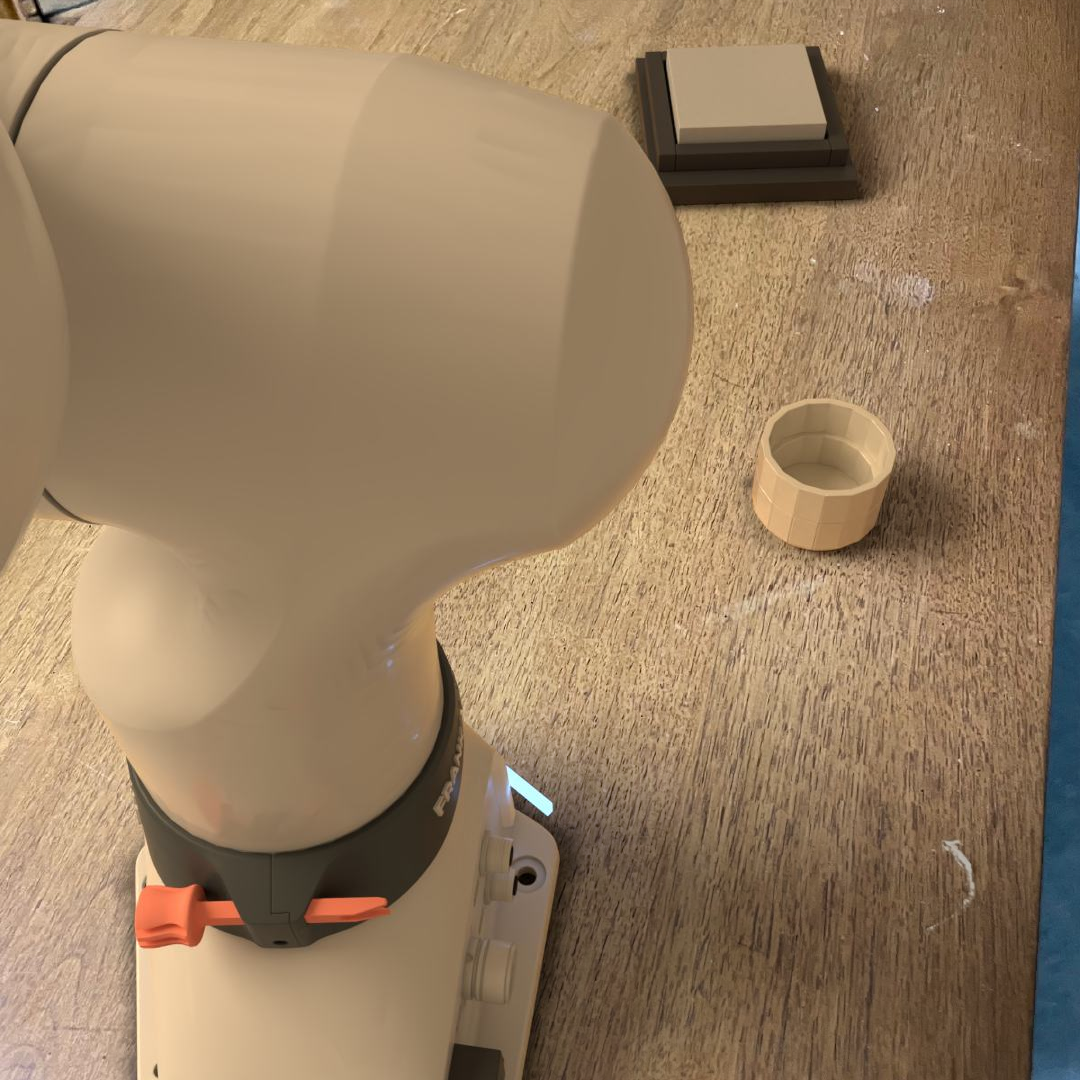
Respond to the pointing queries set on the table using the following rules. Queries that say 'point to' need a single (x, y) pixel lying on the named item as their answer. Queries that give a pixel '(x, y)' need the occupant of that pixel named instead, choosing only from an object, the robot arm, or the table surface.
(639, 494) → the table surface
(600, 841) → the table surface
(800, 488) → the bowl
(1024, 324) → the table surface
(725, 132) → the platform
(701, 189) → the scale
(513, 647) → the table surface
